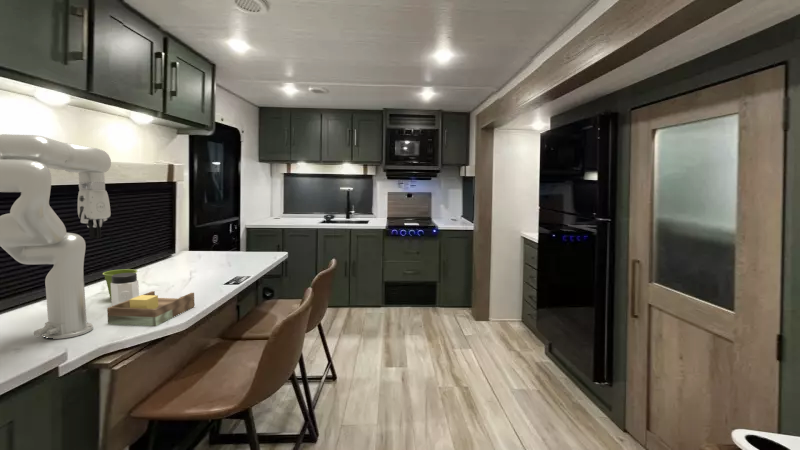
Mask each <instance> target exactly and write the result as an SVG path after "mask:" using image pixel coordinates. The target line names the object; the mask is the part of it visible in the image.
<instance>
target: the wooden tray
mask: <svg viewBox="0 0 800 450" xmlns="http://www.w3.org/2000/svg"><path fill="white" fill-rule="evenodd" d="M155 294H156V293H155V291H153V290H152V291H150V292H147V293H143V294H142V295H155ZM194 306H195V292H190V293H188V294H185V295H183V296H180V297H178V298H173V297H158V308H155V309H144V308H130V300H127V301H125V302H122V303H119V304H117V305H114V306H112V305H111V306H109V307H107V308H106V309H107V310H106V311H107V325H120V326H122V325H124V326H144V327H148V326H149V327H150V326H151V327H157V326H159V325H162V324H163V323H166V322H167V321H169V320H171V319H173V318H175V317H177V316H179V315H181V314H183V313H185V312H187V311H189V310H191V309H193V308H195V307H194ZM192 307H193V308H192ZM190 308H191V309H190ZM188 309H189V310H188ZM186 310H187V311H186ZM184 311H185V312H184ZM182 312H183V313H182ZM180 313H181V314H180ZM178 314H179V315H178ZM176 315H177V316H176ZM174 316H175V317H174ZM172 317H173V318H172ZM170 318H171V319H170ZM168 319H169V320H168Z"/></svg>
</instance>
